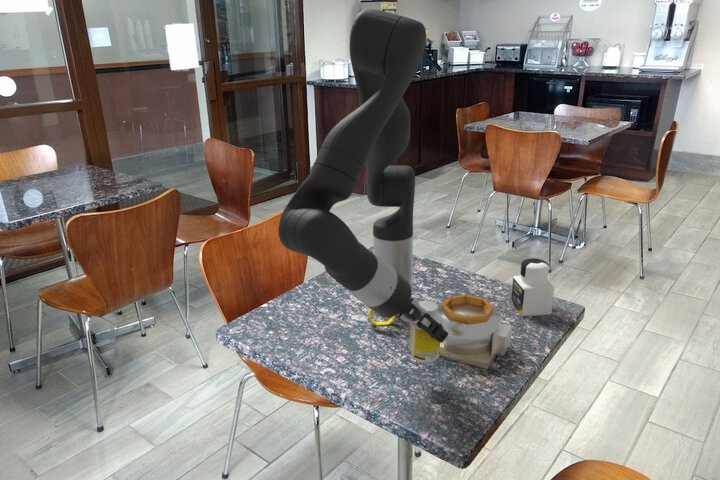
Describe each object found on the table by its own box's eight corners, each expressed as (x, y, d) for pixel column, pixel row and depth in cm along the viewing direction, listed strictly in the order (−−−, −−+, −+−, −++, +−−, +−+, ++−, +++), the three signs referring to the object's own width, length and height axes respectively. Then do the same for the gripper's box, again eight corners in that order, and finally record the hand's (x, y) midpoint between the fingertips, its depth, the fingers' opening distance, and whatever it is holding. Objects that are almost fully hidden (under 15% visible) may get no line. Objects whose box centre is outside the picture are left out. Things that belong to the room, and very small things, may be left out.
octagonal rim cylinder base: (420, 350, 112) (421, 312, 109) (446, 321, 123) (447, 285, 120) (496, 371, 105) (499, 331, 102) (516, 338, 116) (519, 301, 113)
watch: (370, 329, 121) (368, 305, 119) (368, 323, 124) (366, 299, 122) (397, 325, 122) (395, 301, 119) (395, 319, 124) (393, 296, 122)
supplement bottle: (445, 359, 100) (448, 309, 96) (419, 367, 97) (421, 316, 94) (429, 344, 104) (431, 296, 101) (403, 351, 102) (405, 302, 98)
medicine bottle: (510, 302, 132) (514, 256, 127) (539, 301, 132) (544, 254, 128) (521, 316, 125) (525, 268, 121) (551, 315, 125) (557, 266, 121)
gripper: (416, 283, 85) (472, 331, 94) (369, 253, 96) (422, 298, 106) (387, 322, 84) (445, 366, 94) (343, 287, 96) (399, 329, 106)
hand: (433, 329), depth 100 cm, fingers closed on supplement bottle, 5 cm apart
